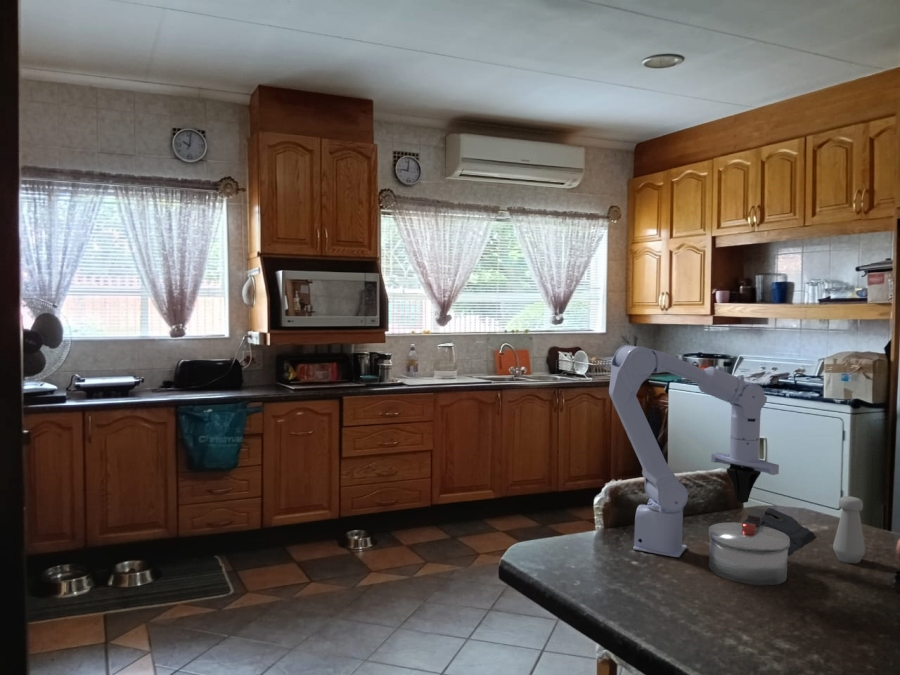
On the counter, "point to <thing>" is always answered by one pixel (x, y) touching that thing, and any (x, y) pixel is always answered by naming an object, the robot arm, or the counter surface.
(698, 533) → the counter surface
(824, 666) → the counter surface
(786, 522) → the dark slate chunk
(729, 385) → the robot arm
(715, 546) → the pot
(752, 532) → the lid
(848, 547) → the salt shaker
